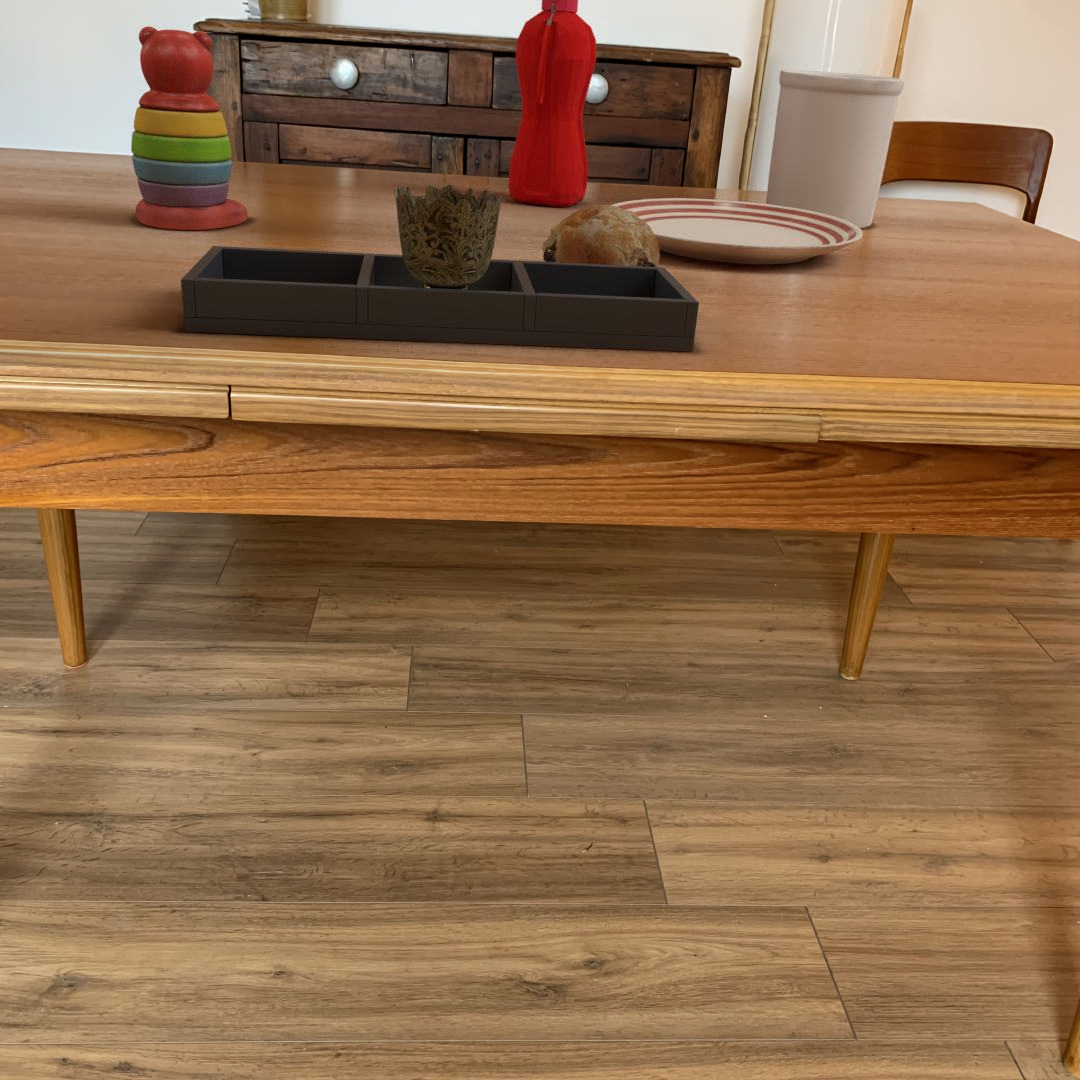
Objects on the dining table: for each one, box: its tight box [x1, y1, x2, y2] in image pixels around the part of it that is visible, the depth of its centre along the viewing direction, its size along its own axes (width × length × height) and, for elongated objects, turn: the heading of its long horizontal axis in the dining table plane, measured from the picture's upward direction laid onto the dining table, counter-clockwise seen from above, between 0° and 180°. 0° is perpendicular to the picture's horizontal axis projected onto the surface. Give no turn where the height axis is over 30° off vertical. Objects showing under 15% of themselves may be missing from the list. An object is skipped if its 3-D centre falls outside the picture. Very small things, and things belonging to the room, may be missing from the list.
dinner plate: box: [611, 197, 864, 265], centre depth 117 cm, size 28×27×3 cm
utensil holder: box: [765, 69, 905, 229], centre depth 138 cm, size 15×15×18 cm
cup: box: [394, 183, 502, 290], centre depth 78 cm, size 8×7×8 cm
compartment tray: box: [180, 245, 700, 353], centre depth 79 cm, size 35×12×4 cm, turn 95°
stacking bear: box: [130, 26, 248, 231], centre depth 106 cm, size 11×10×18 cm
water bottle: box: [508, 0, 597, 208], centre depth 134 cm, size 9×11×25 cm
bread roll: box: [541, 204, 661, 267], centre depth 98 cm, size 10×10×8 cm
